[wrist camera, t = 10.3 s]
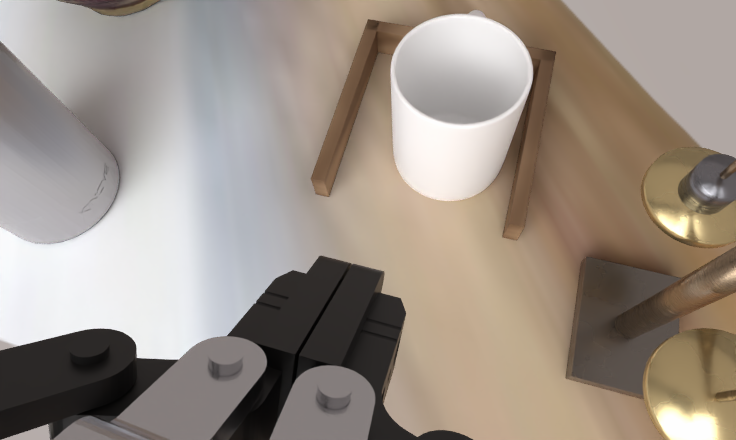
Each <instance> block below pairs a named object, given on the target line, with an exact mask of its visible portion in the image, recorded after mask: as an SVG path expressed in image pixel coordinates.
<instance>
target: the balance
mask: <svg viewBox="0 0 736 440" xmlns="http://www.w3.org/2000/svg"><path fill="white" fill-rule="evenodd" d="M641 196H642V201H643V205H644V207H645V210H646V212H647V213H648V215H649V217H650V218H651V220H652V221H653V222H654V223H655V224H656V225H657V226H658V228H659V229H661V230H662V231H663V232H664V233H665V234H667V235H668V236H670V237H671V238H673V239H675V240H677V241H679V242H681V243H684V244H686V245H690V246H694V247H699V248H718V247H723V246H726V245H729V244H731V243H733V242H735V241H736V159H735V158H734V157H731V156H729V155H725V154H721V153H719V152H716V151H713V150H710V149H706V148H699V147H683V148H678V149H674V150H671V151H669V152H667V153H665V154H663V155H662V156H660V157H659V158H658V159H657V160H656V161H655V162H654V163H653V164H652V165H651V166H650V167H649V169H648V170H647V171H646V173H645V175H644V178H643V180H642V185H641ZM735 292H736V247H734V248H732V249H731V250H729V251H727V252H726V253H724V254H722V255H721V256H719V257H717V258H715V259H714V260H712V261H710V262H709V263H707V264H705V265H704V266H702V267H700V268H698V269H697V270H695V271H693V272H692V273H690V274H688V275H687V276H685V277H683V278H678V277H673V276H669V275H665V274H660V273H656V272H652V271H647V270H643V269H639V268H634V267H630V266H626V265H621V264H617V263H613V262H608V261H604V260H600V259H596V258H591V257H586V258H585V259H584V260H583V261H582V262H581V267H580V275H579V282H578V290H577V297H576V305H575V312H574V320H573V327H572V335H571V343H570V350H569V358H568V365H567V373H566V379H570V380H574V381H577V382H581V383H585V384H588V385H592V386H596V387H600V388H603V389H607V390H611V391H614V392H618V393H622V394H626V395H629V396H633V397H637V398H640V399H644V401H645V405H646V408H647V411H648V413H649V416H650V418H651V420H652V422H653V424H654V426H655V427H656V429H657V430H658V432H659V433H660V435H661V436H662V437H663V438H664V440H736V335H734V334H732V333H729V332H726V331H722V330H717V329H707V328H702V329H693V330H688V331H685V332H682V333H679V318H680V317H682V316H684V315H686V314H689V313H691V312H693V311H695V310H697V309H700V308H702V307H704V306H706V305H708V304H711V303H713V302H715V301H717V300H719V299H722V298H724V297H726V296H728V295H730V294H733V293H735Z"/></svg>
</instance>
